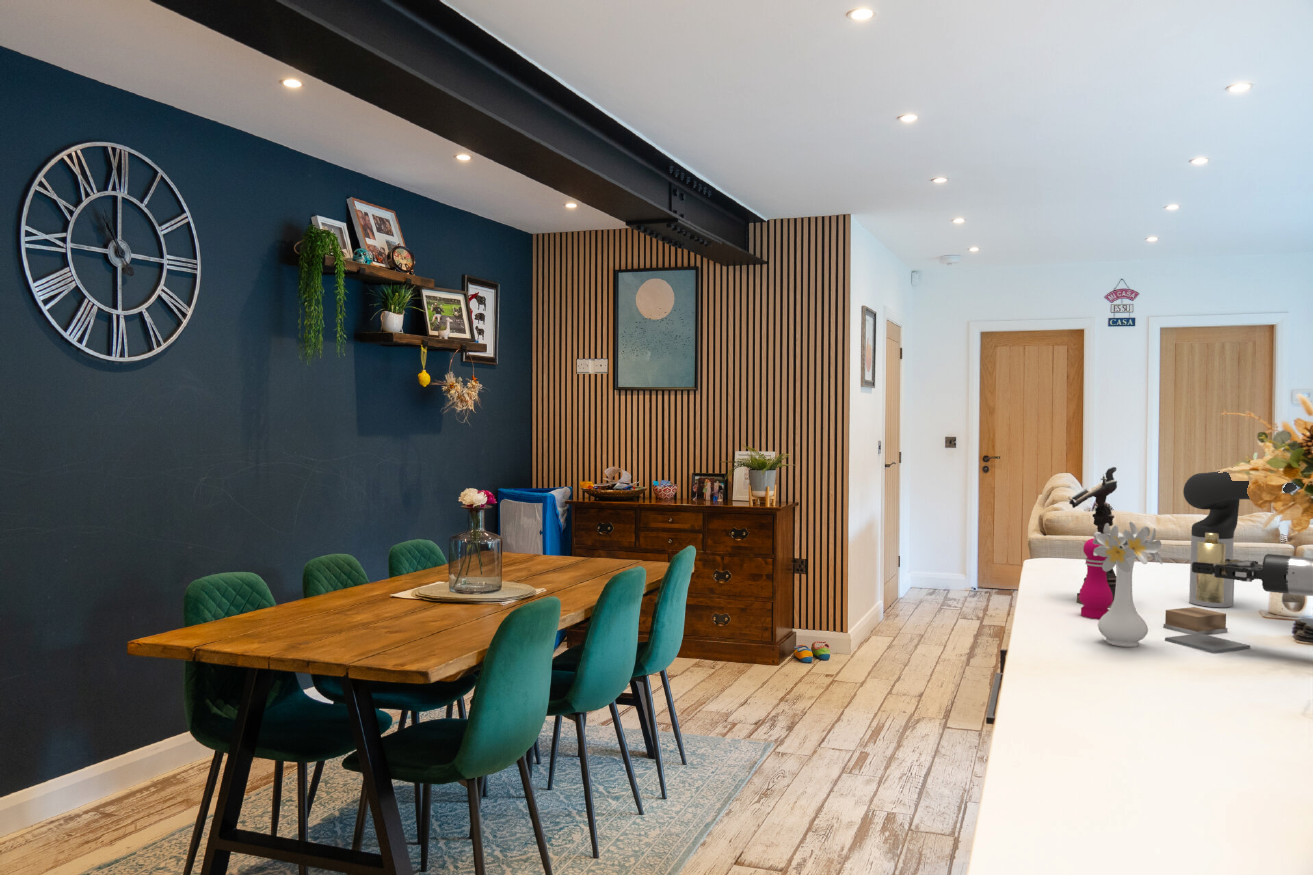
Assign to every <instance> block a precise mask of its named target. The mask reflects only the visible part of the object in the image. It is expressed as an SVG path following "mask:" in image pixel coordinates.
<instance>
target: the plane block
mask: <svg viewBox="0 0 1313 875" xmlns="http://www.w3.org/2000/svg"><path fill="white" fill-rule="evenodd" d="M1164 618H1165V619H1164V620H1165V622H1164V623H1163V627H1162V628H1164V629H1167V630H1172V631H1175V632H1179V633H1184V634H1186V635H1191V634H1199V633H1201V634H1205V635H1213V634H1221V633H1228V627H1227V613H1223V612H1220V611H1215V610H1209V609H1205V608H1200V607H1197V606H1191V607H1181V608H1173V609H1165V617H1164Z"/></svg>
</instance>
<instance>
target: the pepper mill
mask: <svg viewBox="0 0 1313 875" xmlns="http://www.w3.org/2000/svg"><path fill="white" fill-rule="evenodd" d="M1097 534H1100V532H1098V531H1096V532H1094V533H1093V538H1089V539H1088V540H1086V541H1085V543H1084V544H1083V548H1082V550H1083V553H1084V555H1085V556H1086V558H1085V562H1084V563H1085V565H1086V567H1087V568H1086V570H1087V571H1086V575H1087V577H1086V576H1085V577H1086V580H1085V582H1084V581H1083V583H1084V584H1082V585H1083V586H1082V585H1081V588H1080V589H1081V590H1080V589H1079V593H1080V594H1079V599H1080V601H1081V602H1082V605H1083V606H1082V607H1080V615H1081V617H1083V618H1089V619H1095V620H1100V618H1101V617H1102V616H1103V615H1104V614H1105V613H1107V612H1108V611H1109V609H1110V608H1108V607H1109V606H1110V605H1111V604H1112V602H1113V595H1112V592H1111V589H1110V587H1109V585H1108V582H1107V578H1106V571H1104V570H1103V568H1102V565H1103V563H1104V561H1105V559H1106V558H1107V557H1102V556H1099V555H1098V556H1094V555H1093V553H1094V549H1095V548H1097V547H1098V546H1100V545H1097V544H1093V540H1094V539H1095V538H1096V535H1097Z"/></svg>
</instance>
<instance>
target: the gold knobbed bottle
mask: <svg viewBox="0 0 1313 875" xmlns="http://www.w3.org/2000/svg"><path fill="white" fill-rule="evenodd" d="M1218 537H1219V534H1218V533H1205V541H1198V546H1197V562H1203V563H1218V564H1225V547H1226V544H1225V543H1220V542H1218ZM1222 573H1225V569H1223V568H1222ZM1196 600H1199V601H1203V602H1211V603H1222V602H1223V601H1224V578H1216V577H1214V576H1213V574H1202V573H1197V574H1196Z"/></svg>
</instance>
